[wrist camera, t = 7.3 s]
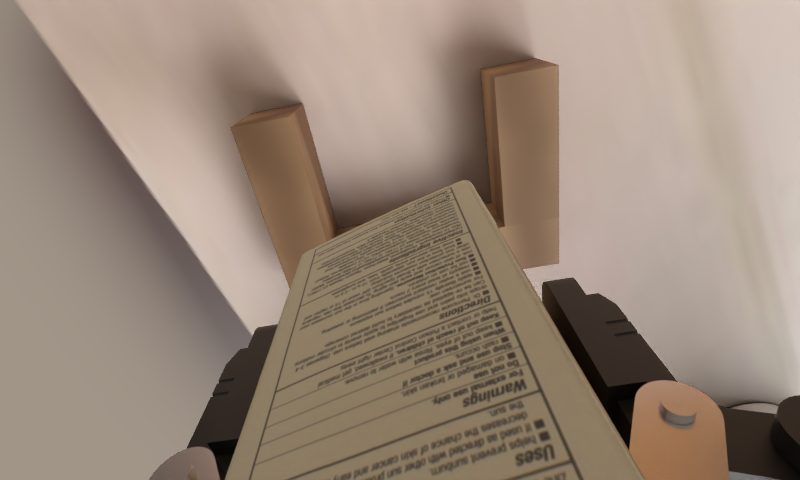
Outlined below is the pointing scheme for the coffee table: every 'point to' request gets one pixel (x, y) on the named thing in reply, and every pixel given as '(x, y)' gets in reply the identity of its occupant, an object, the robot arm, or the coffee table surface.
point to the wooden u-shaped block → (507, 159)
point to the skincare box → (423, 363)
